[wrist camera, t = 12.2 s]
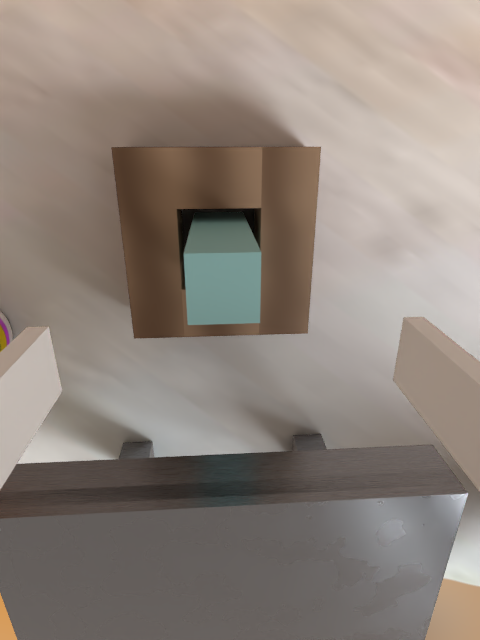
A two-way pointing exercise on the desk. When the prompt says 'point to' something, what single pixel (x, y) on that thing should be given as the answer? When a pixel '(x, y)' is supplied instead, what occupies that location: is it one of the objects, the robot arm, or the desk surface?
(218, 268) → the peg
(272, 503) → the grey step stool
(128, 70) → the desk surface
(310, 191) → the socket block
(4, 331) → the supplement bottle
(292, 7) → the desk surface
